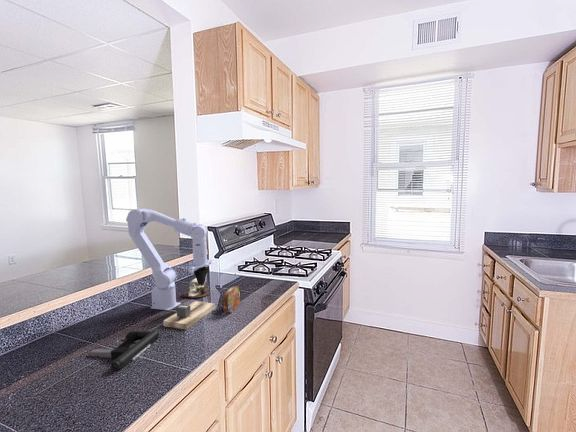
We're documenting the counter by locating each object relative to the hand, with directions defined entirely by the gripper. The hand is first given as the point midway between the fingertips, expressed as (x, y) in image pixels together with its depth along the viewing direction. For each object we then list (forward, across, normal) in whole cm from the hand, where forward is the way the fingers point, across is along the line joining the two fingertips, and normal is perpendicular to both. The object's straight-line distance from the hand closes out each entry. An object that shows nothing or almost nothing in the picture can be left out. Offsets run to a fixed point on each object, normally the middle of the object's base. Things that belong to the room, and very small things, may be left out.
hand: (201, 284), depth 133 cm
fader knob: (+7, -16, -2) cm, 17 cm away
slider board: (+9, -11, -2) cm, 15 cm away
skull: (+10, +11, +10) cm, 18 cm away
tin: (+10, +1, -14) cm, 17 cm away
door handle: (+10, -39, +4) cm, 40 cm away
